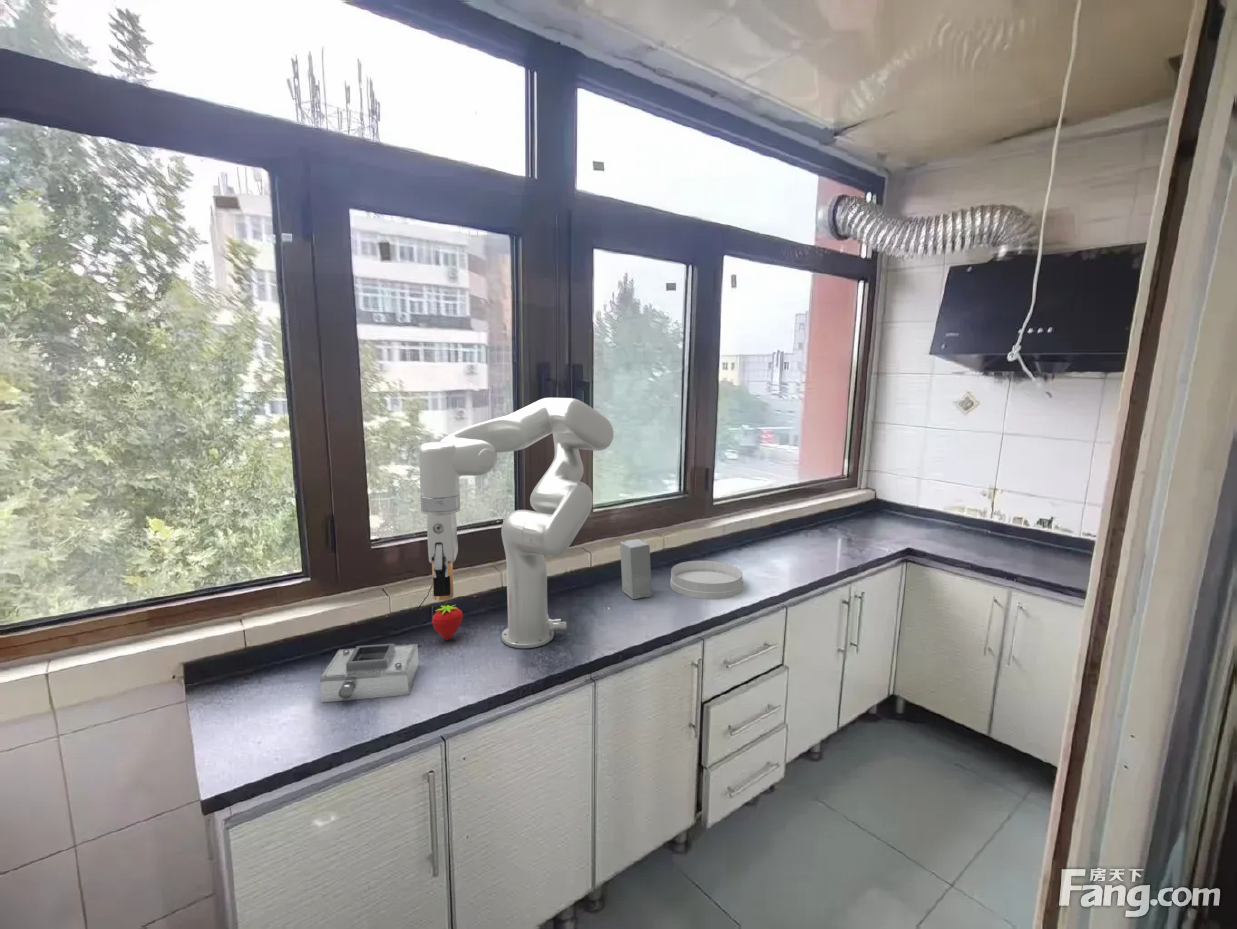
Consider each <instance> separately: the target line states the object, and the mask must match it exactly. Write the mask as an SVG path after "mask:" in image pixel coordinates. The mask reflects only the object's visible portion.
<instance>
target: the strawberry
mask: <svg viewBox="0 0 1237 929" xmlns="http://www.w3.org/2000/svg"><path fill="white" fill-rule="evenodd" d="M447 603H448V600H446V602H445V604H444V605H440V607H441V608H437V609H436V610H434V611H435V613H434V614H433V615H432V618H431V623H432V627H433V629H434V630H435V631H436V632H437V633H438V635H440V637H442V638H443V639H444V640H446V641H449V640H450V639H452V637H453V636H454V634H455V633H456V632H457V630H458V629H459V628H460V626H461V625H462V623H463V618H464V615H463V611H462V610H461V609H459V607H456V604H453V605H449V604H447ZM446 604H447V605H446Z"/></svg>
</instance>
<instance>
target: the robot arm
mask: <svg viewBox="0 0 1237 929" xmlns="http://www.w3.org/2000/svg"><path fill="white" fill-rule="evenodd" d="M551 434H552V438H553V445H554V457H553V459H552V462H551V464H550V466H549V467H547V468H548V469H547V470H546V471H545V473H544V474H543V476H542V477H541V478H540V479H539V481H538V482H537V483H536V485H535V487H534V488H533V490H532V492H531V494H530V497H529V503H530V506H531V508H532V509H533V510H530V509H529V510H528V509H517V510H514V511H512V512H510V513H509V514H507V515H506V516H505V518H504V519H503V522H502V524H501V529H500V531H501V539H502V544H503V547H504V548H503V550H504V553H505V561H506V595H507V600H506V602H507V628H505V629H504V630H503V631H502V632H501V641H502V642H503V643H504V644H505V645H507V646H509V647H511V648H515V649H532V648H538V647H541V646H545V645H546V644H548V643H550V642H551V641H553V639H554V637H555V631H565V630H567V621H561V620H562V619H561V618H557V619H556V618H555V619H552V618H549V613H548V572H547V571H548V568H547V563H546V557H553V558H554V557H560V556H561V555H563V554H564V553H565V552H566V551H567V550H568V549H569V547H570V546H571V544H572V543H573V541H574V539H575V538H576V536H577V535H578V533H580V532H579V531H580V530H581V528H582V527H583V525H584V523H585V522H586V521H587V519H588V517H589V515H590V513H591V511H592V508H593V501H594V498H593V497H594V496H593V491H592V489H591V488H590V486H589V485H588V484H586V483H585V482H582V481H581V480H582V478H583V475H584V464H583V461H582V458H581V454H580V450H586V451H594V452H595V451H597V452H598V451H604V450H606V449H607V448H609V447H610V446H611V444H612V443H613V440H614V427H613V425H612V423H611V422H610V420H609V419H608V418H607V417H606V416H604V415H602V414H601V413H600V412H599V411H597V410H595V409H594V407H591V406H590V405H588V404H587V403H585V402H583V401H582V400H580V399H577V398H573V397H543V398H540V399H538V400H536V401H534V402H532V403H530V404H528V405H526V406H524V407H522V408H520V409H517V410H516V411H514V412H511V413H509V414H508V415H504V416H503V415H502V416H500V417H496V418H492V419H489V420H486V421H483V422H482V421H481V422H479V423H475V424H473V425H469V426H467V427H464V428H461V429H460V430H458V431H455V432H452V433H450V434H449V435H447V436H445V437H444V438H442V439H441V440H440V441H430V442H425V443H422V444H421V445H420V446H419V449H418V464H419V465H418V466H419V488H420V495H419V496H420V512H421V514H424V515H426V527H427V528H426V529H427V531H426V533H427V552H428V562H429V563H430V564H432V563H433V567H434V576H433V577H432V593H433V592H434V596H449V595H450V576H448V561H451V563H452V562H453V563H454V562H455V561H456V559H457V556H458V551H459V546H458V545H459V544H458V528H457V527H458V523H457V515H456V513H458V512H459V511H461V495H460V494H461V492H460V489H461V488H460V487H461V486H460V477H463V476H464V477H465V476H466V477H467V476H469V477H472V476H473V477H479V476H484V475H487V474H489V473H490V472H491V471H493V469H494V468H495V467H496V466H497V463H498V453H509V452H516V451H520V450H524V449H526V448H529V447H530V446H531V445H533V444H535V443H537V442H539V441H540V440H542V439H545V437H547V436H549V435H551ZM545 556H546V557H545ZM443 558H446V561H442V560H443ZM443 565H445V567H444V566H443Z"/></svg>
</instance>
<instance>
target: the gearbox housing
mask: <svg viewBox="0 0 1237 929" xmlns="http://www.w3.org/2000/svg"><path fill="white" fill-rule="evenodd" d="M418 647H419V646H418V643H413V644H412V643H411V644H401V645H400V644H399V645H397V644H395V643H383V644H370V645H369V644H368V645H367V644H366V645H356V647H355V648H343V649H341V648H340V649H338V651H337V652H336V653H335V655H334V656H333V658H332V660H331V661H330V663H328V666H327V667H326V668H325V670H324V671H323V673H322V674H321V676H320V677H319V684H320V685H319V686H320V696H321V698H320V699H321V700H320V701H321V703H331V702H339V701H340V702H341V701H352V700H354V701H355V700H365V699H375V698H378V699H379V698H387V697H398V696H399V697H400V696H409V693H410V691H411V688H412V685H413V682H414V680H415V676H416V673H417V671H418V667H419V666H420V664H419V648H418Z"/></svg>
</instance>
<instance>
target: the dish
mask: <svg viewBox="0 0 1237 929" xmlns="http://www.w3.org/2000/svg"><path fill="white" fill-rule="evenodd" d="M670 574H671V575H670V576H671V577H670V582H669V583H670V587H671V589H672V590H673V591H674V592H676V593H678V594H680V595H683V596H686V597H690V598H694V599H699V600H723V599H724V600H725V599H730V598H734V597H736V596H738V595H741V593H742V592H743V587H744V581H743V572H742V570H741V569H740V568H738V567H737V566H735V565H732V564H728V563H725V562H722V561H721V562H720V561H715V560H714V561H713V560H691V561H689V560H688V561H684V562H679V563H677V564H675V565H673V566H672V568H671V570H670Z"/></svg>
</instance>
